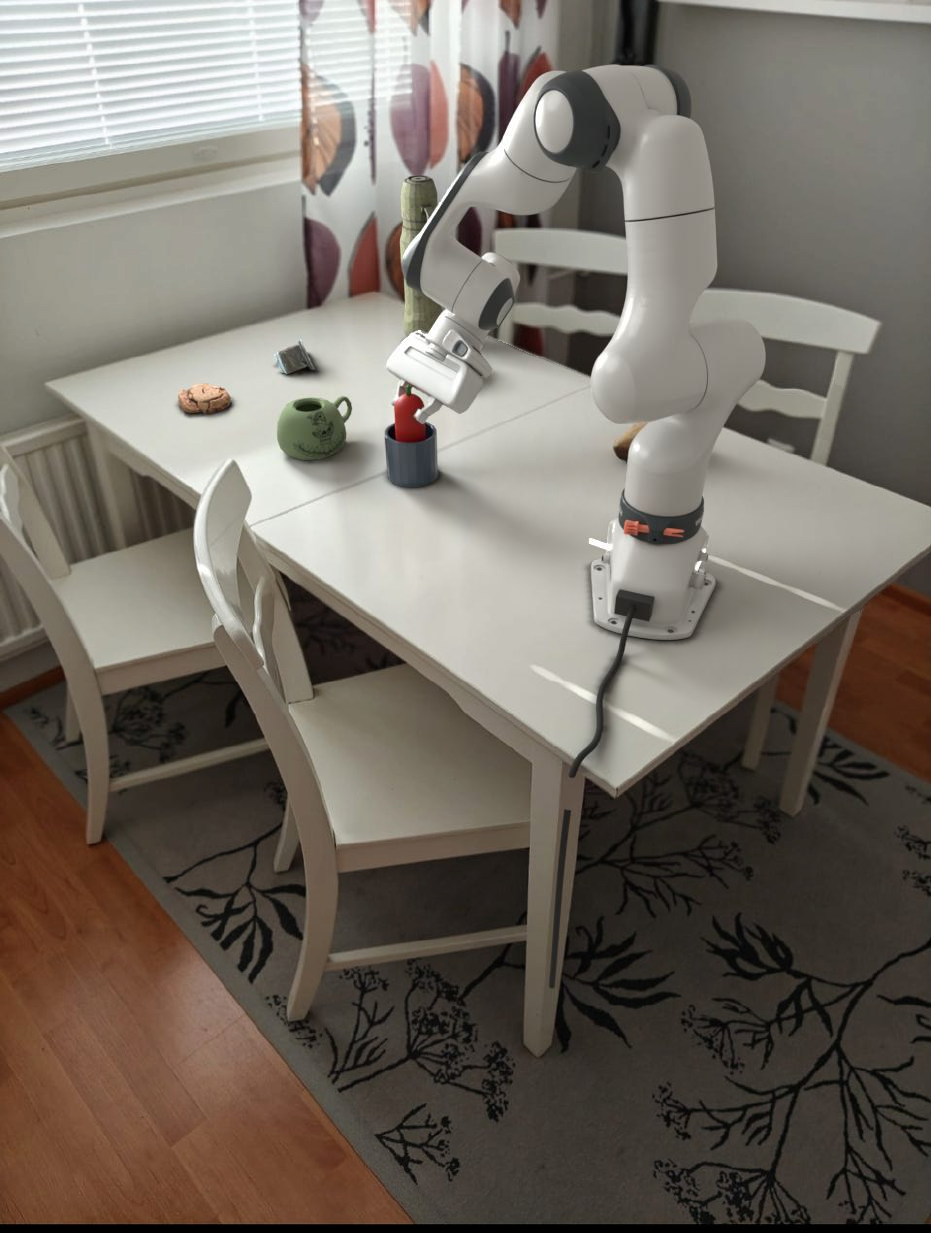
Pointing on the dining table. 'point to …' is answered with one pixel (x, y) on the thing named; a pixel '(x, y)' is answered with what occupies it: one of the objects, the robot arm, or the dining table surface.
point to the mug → (312, 428)
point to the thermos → (415, 214)
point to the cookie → (204, 398)
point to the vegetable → (627, 441)
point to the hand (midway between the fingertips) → (406, 414)
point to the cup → (411, 458)
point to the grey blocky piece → (293, 358)
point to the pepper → (408, 418)
